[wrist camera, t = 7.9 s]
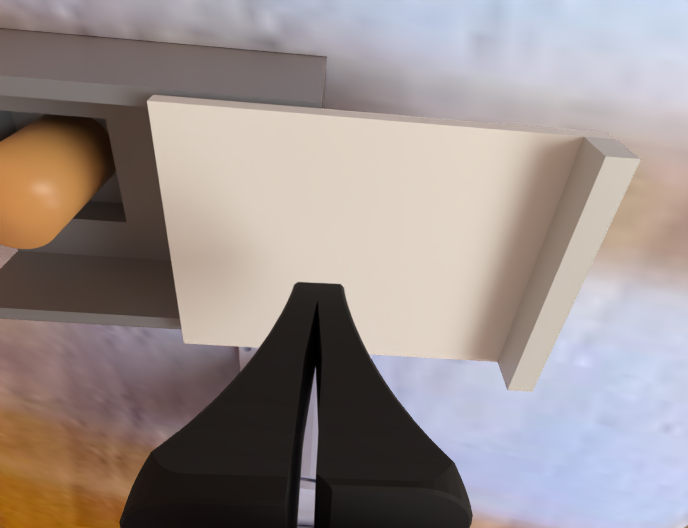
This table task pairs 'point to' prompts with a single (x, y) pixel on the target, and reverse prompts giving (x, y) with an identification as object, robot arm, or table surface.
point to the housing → (122, 163)
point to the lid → (384, 224)
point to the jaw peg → (50, 176)
